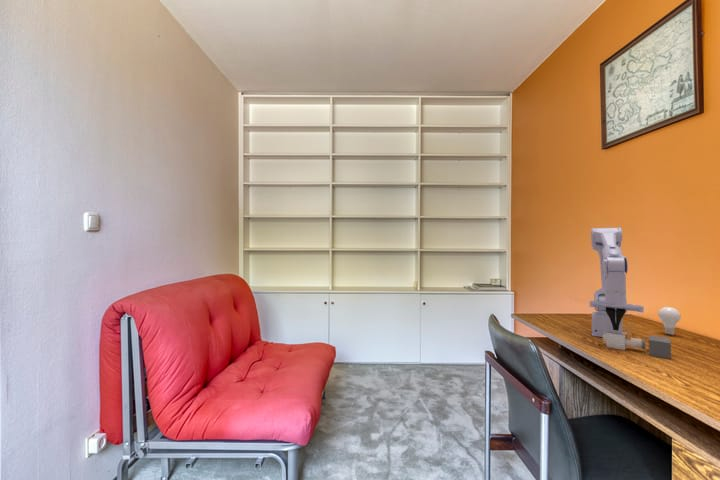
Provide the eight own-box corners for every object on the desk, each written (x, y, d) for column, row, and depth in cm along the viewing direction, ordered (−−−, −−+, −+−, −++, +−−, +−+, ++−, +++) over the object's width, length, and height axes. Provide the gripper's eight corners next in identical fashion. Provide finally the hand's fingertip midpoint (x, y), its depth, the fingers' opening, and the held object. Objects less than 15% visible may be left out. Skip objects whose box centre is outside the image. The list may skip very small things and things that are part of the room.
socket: (649, 355, 100) (648, 339, 100) (649, 349, 105) (648, 335, 105) (671, 359, 97) (670, 343, 97) (669, 353, 102) (669, 338, 102)
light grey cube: (606, 347, 108) (606, 332, 109) (607, 343, 112) (607, 329, 112) (625, 350, 105) (624, 335, 105) (625, 346, 109) (625, 332, 109)
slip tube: (602, 343, 110) (602, 321, 110) (603, 340, 112) (603, 320, 112) (645, 350, 102) (644, 327, 102) (645, 347, 105) (644, 325, 105)
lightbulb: (686, 337, 119) (685, 308, 119) (669, 337, 119) (668, 308, 119) (669, 332, 125) (669, 305, 125) (653, 332, 125) (653, 305, 125)
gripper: (588, 290, 111) (588, 328, 111) (643, 294, 101) (643, 336, 101) (591, 288, 116) (591, 324, 116) (643, 292, 106) (644, 331, 106)
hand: (615, 329), depth 109 cm, fingers closed
